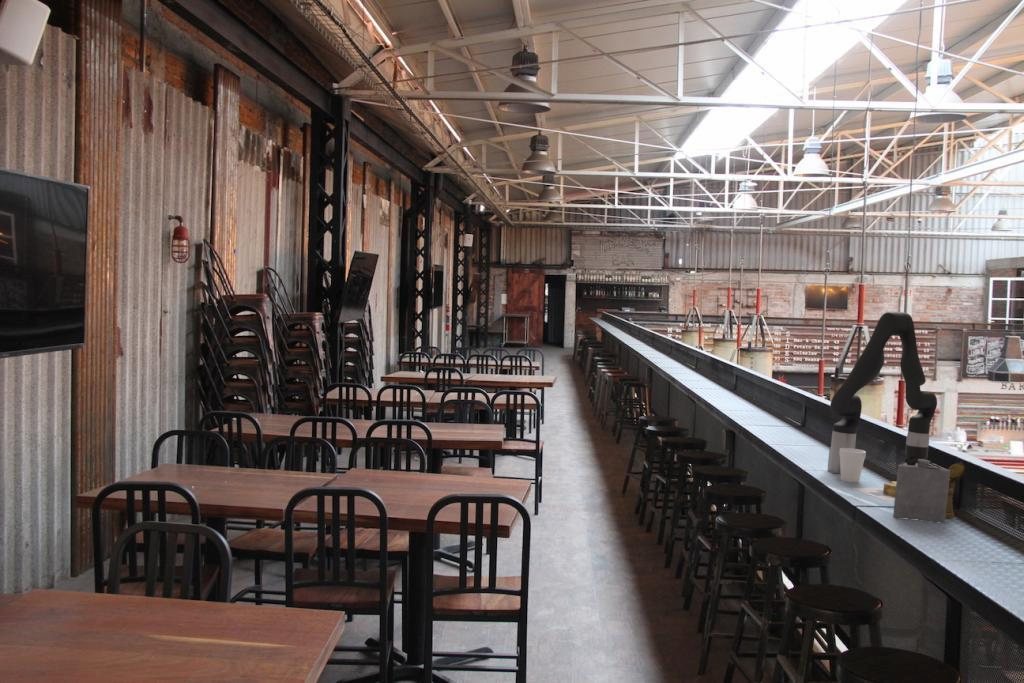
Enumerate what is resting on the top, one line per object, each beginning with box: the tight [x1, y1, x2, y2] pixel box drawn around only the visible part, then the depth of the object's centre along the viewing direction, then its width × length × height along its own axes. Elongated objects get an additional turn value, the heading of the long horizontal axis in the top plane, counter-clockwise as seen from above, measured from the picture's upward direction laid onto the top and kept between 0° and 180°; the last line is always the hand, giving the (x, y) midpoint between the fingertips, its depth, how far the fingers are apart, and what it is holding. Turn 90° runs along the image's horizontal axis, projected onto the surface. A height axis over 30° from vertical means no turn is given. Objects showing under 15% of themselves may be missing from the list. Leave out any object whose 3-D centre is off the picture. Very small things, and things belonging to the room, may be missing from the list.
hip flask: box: [892, 459, 950, 524], centre depth 263 cm, size 16×4×20 cm, turn 80°
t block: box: [883, 480, 897, 496], centre depth 294 cm, size 10×9×4 cm
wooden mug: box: [945, 462, 966, 519], centre depth 272 cm, size 9×14×18 cm, turn 114°
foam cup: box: [839, 448, 867, 483], centre depth 313 cm, size 10×9×13 cm
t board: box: [851, 487, 895, 502], centre depth 293 cm, size 18×18×1 cm
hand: (912, 490), depth 296 cm, fingers closed
